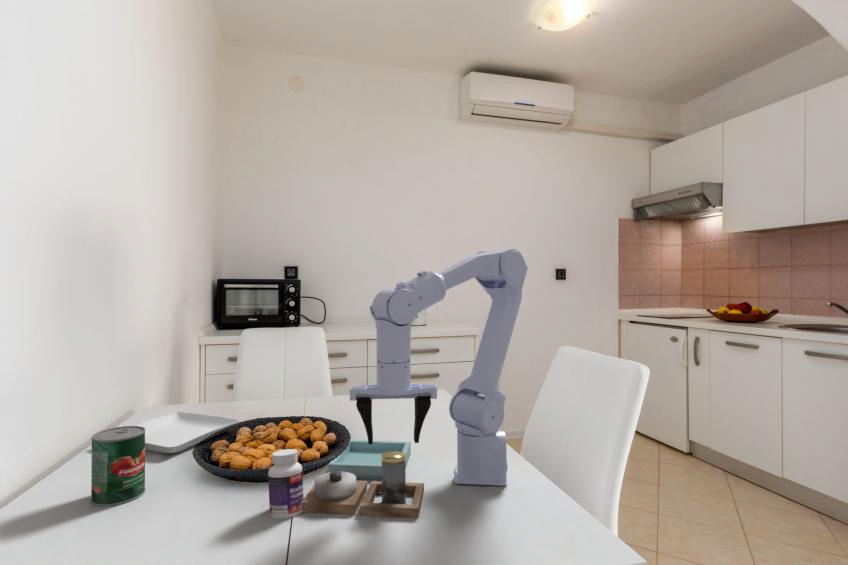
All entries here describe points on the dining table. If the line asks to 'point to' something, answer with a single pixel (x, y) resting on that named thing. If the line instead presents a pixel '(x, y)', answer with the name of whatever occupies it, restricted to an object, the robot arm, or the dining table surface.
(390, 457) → the tin can
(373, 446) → the tray
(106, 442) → the canned tomato
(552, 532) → the dining table surface
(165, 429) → the salad plate
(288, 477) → the pill bottle
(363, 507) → the block
